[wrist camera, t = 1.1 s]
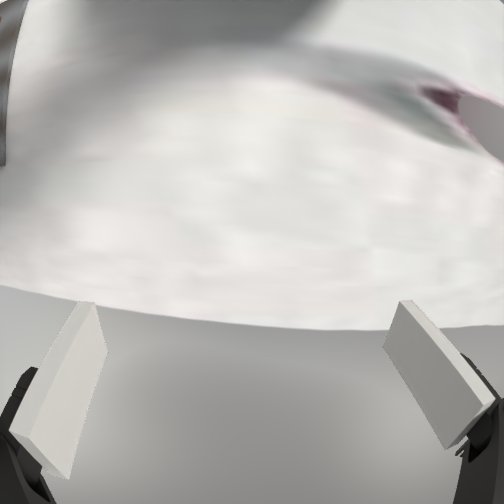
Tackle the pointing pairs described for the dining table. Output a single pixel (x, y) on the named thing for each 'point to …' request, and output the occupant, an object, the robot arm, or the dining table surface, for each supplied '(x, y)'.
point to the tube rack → (7, 56)
